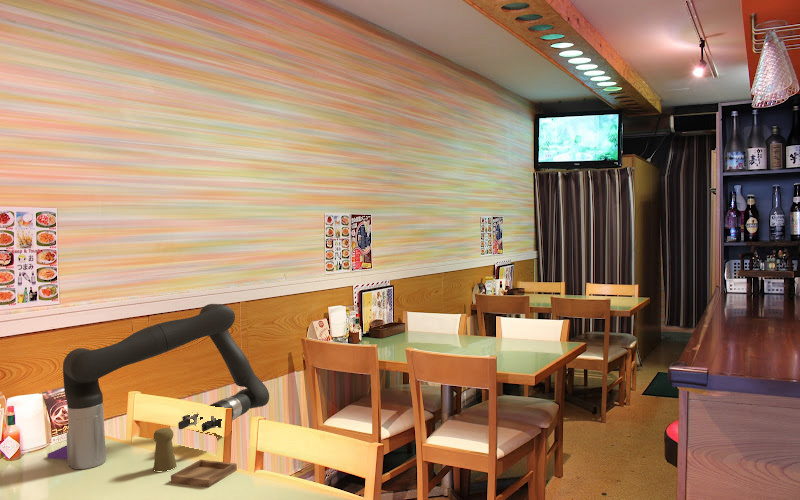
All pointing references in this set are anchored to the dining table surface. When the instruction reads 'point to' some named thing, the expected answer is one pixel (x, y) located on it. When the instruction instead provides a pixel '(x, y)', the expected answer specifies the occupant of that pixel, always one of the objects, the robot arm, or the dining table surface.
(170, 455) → the olive pepper mill
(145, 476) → the dining table surface
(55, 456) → the bracket
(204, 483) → the tray
